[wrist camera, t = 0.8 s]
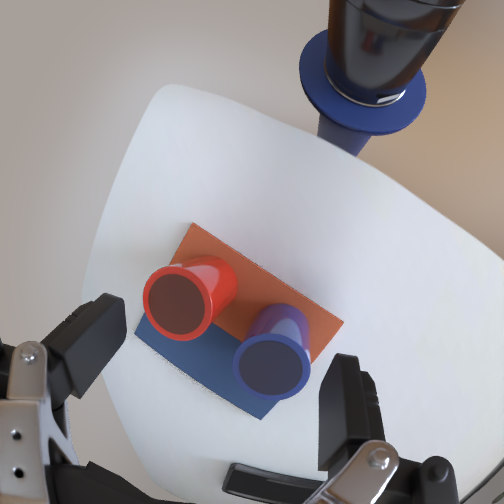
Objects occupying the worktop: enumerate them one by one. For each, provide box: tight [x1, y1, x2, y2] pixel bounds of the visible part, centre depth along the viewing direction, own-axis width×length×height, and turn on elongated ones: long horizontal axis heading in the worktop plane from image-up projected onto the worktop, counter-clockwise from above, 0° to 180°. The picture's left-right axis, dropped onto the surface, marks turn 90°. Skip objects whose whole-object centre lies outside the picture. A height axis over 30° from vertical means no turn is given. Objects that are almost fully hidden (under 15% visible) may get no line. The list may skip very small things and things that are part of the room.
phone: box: [222, 464, 324, 504], centre depth 32 cm, size 8×1×15 cm
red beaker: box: [143, 255, 238, 341], centre depth 26 cm, size 6×6×9 cm
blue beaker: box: [232, 304, 311, 401], centre depth 25 cm, size 6×6×8 cm
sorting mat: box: [134, 223, 344, 420], centre depth 31 cm, size 16×19×1 cm
